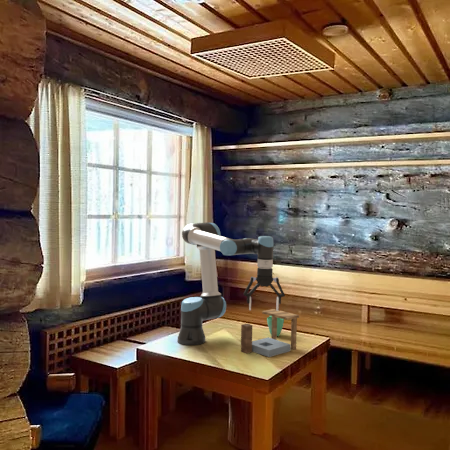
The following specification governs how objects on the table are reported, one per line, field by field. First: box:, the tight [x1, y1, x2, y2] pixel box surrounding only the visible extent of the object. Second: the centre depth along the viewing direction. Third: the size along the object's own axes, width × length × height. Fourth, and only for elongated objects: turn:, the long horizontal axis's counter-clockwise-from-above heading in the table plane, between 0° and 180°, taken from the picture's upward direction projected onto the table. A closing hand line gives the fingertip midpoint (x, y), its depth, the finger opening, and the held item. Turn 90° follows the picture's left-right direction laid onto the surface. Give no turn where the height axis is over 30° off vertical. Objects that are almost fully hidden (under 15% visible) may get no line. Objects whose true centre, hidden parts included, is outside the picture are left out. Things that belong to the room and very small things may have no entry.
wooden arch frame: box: [261, 308, 300, 351], centre depth 262 cm, size 18×9×18 cm, turn 41°
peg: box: [240, 323, 253, 354], centre depth 253 cm, size 4×4×14 cm
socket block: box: [252, 337, 291, 358], centre depth 257 cm, size 16×16×4 cm
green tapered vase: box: [266, 315, 285, 337], centre depth 287 cm, size 15×10×10 cm
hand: (263, 310), depth 245 cm, fingers open, 13 cm apart
